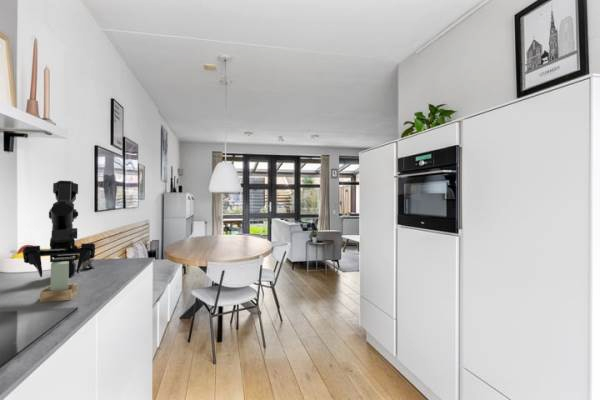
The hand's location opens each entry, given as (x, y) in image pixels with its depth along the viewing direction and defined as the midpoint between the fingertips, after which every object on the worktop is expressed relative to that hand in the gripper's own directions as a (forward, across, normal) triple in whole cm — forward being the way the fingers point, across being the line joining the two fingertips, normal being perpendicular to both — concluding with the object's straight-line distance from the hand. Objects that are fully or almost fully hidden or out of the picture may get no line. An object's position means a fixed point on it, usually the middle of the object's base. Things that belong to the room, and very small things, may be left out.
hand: (59, 274), depth 100 cm
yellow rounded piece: (-25, +7, +36) cm, 44 cm away
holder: (+4, 0, +6) cm, 8 cm away
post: (+4, 0, +6) cm, 8 cm away
